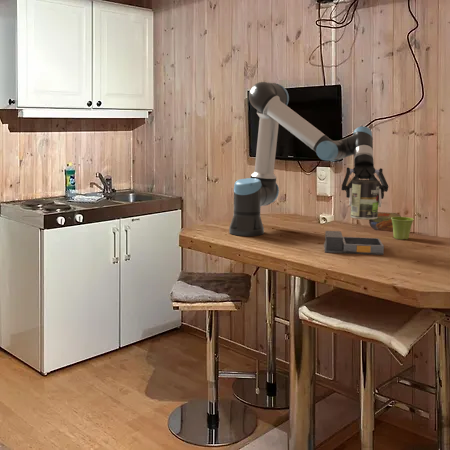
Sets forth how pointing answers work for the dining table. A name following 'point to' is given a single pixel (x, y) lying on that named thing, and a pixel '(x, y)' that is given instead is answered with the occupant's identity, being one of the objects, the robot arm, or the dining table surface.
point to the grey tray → (352, 244)
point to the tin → (383, 221)
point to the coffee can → (365, 199)
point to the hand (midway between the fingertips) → (365, 204)
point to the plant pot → (401, 227)
